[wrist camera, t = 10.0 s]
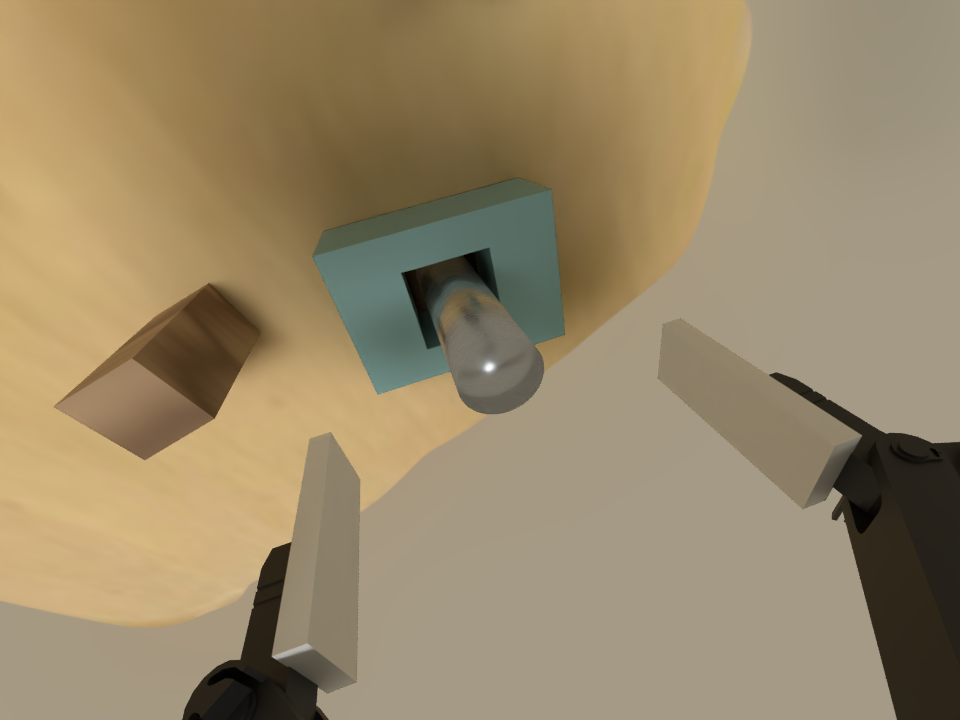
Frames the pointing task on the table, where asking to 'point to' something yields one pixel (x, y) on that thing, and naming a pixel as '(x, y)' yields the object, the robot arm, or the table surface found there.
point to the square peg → (166, 375)
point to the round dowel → (479, 339)
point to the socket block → (434, 238)
